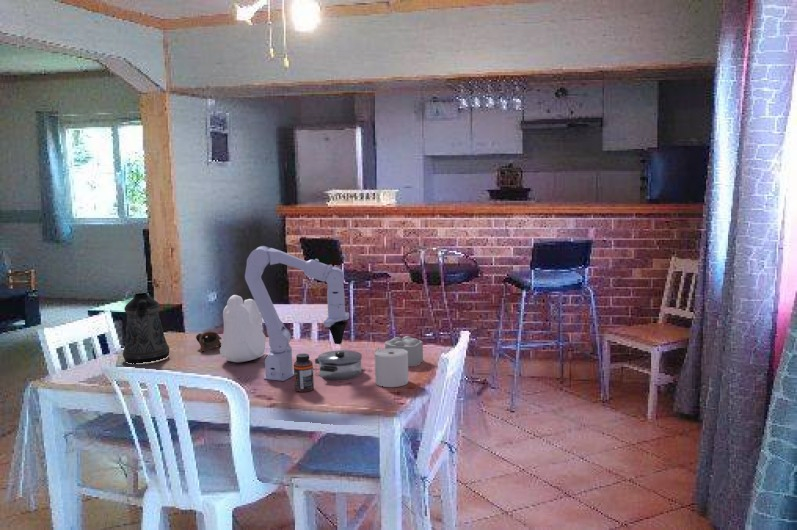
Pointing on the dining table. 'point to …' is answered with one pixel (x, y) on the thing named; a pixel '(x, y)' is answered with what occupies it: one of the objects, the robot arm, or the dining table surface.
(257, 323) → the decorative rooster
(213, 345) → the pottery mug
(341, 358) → the cooker lid
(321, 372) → the cooker pot
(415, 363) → the grey lumpy container
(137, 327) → the dark grey flared piece
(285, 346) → the robot arm
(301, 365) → the supplement bottle
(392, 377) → the toilet tissue
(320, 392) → the dining table surface
